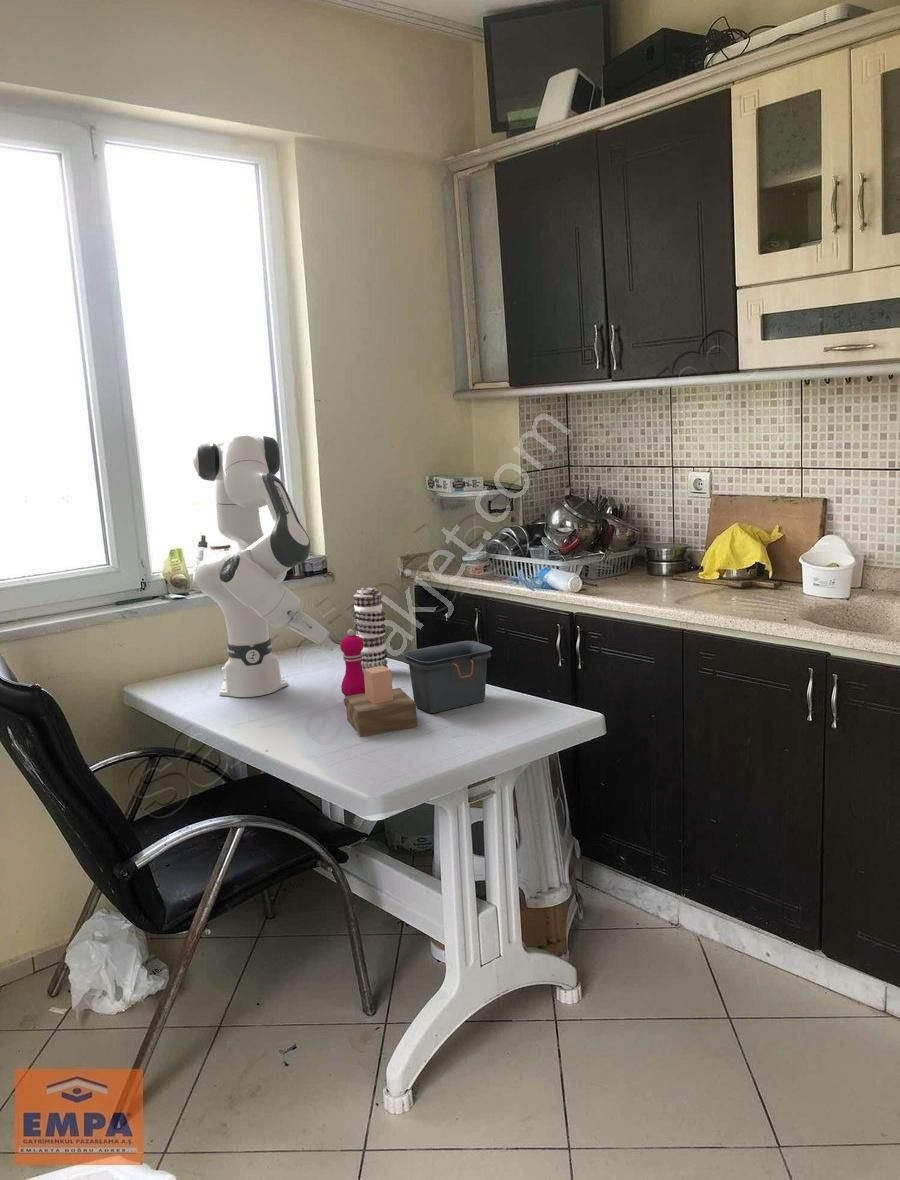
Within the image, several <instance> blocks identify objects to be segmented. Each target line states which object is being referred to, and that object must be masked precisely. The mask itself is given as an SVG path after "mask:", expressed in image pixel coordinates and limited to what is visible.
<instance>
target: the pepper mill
mask: <svg viewBox="0 0 900 1180" xmlns="http://www.w3.org/2000/svg"><path fill="white" fill-rule="evenodd" d="M354 630H355V629H351V628H350V629H348V630H347V635H345V636H344V637H343V638H342V639H341V641H340V643H339V646H340V647H339V648H340V651H341V652H342V653H343V654H342V657H343V658H342V659H343V661H344V662H345V674H344V676H343V679H342V682H341V686H340V688H341V693H342V694H343V695H344V699H343V700H344V703H343V704H344V707H346V701H345V696H350V695H356V694H363V693H365V682H364V672H363V670H362V666H361V659H362V658H363V657H362V653H361V651H362V649H363V647H364V644H363V640H362V639H361V638H360V637H359V636H357V635H355V631H354Z"/></svg>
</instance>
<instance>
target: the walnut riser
mask: <svg viewBox="0 0 900 1180" xmlns="http://www.w3.org/2000/svg"><path fill="white" fill-rule="evenodd" d="M392 689H393V700H391V701H386V702H381V703H377V704H373V703H372V702H370V701H368V700H367V699H366V694H365V693H363V694H356V695H350V696H345V695H344V698H345V701H346V706H345V709H346V721H348V723H349V725H350V726H352V729H354V731H355V732H356V734H358V736H359V738H360V737H362V738H363V737H366V736H373V735H379V734H384V733H391V732H398V731H403V730H409V729H413V728H418V717H417V716H418V714H417V707H416V703H415V702H414V699H412V698H411V697H410V696H409V695H408V694H407V693H406V692H405V691H404V690H403V689H402V688H401V687H396V688H392Z"/></svg>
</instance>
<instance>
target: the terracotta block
mask: <svg viewBox="0 0 900 1180" xmlns="http://www.w3.org/2000/svg"><path fill="white" fill-rule="evenodd" d="M392 679H393V678H392V669H390V668H389V667H388V668H386V667H384V666H377V667H372V668H367V669H364V682H365V694H366V699H367V700H368V701H370V702H372V703H373V704H377V703H381V702H386V701H391V700H393V689H394V688H393V680H392Z"/></svg>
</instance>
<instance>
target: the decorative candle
mask: <svg viewBox="0 0 900 1180" xmlns="http://www.w3.org/2000/svg"><path fill="white" fill-rule="evenodd" d="M353 597H354V606H353V607H354V608H352V617H353V618H354V620H353V624H354V628H353V630H356V631H355V632H354V635H357V636H359V637H360V638H361V639H362V640H363V644H364V647H363V649H362V651H361V653H362V657H363V658H362V659H361V666H362V670H363V672H364V669H367V668H372V667H377V666H384V667H386V668H388V669H389V666H388V660H387V658H388V655H387V654H386V653H387V651H388V650H387V649H386V643H385V636H384V635H386V629H385V627H386V624H384V623H383V622H384V621H386V618H385V614H386V613H385V612H384V611H382V610H383V603H382V592H381V591H379V589H378V588H376V587H374V586H373V587H372V586H371V587H369V586H368V587H362V588H359V589H357V590H356V592H355V593H354V594H353Z"/></svg>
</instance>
